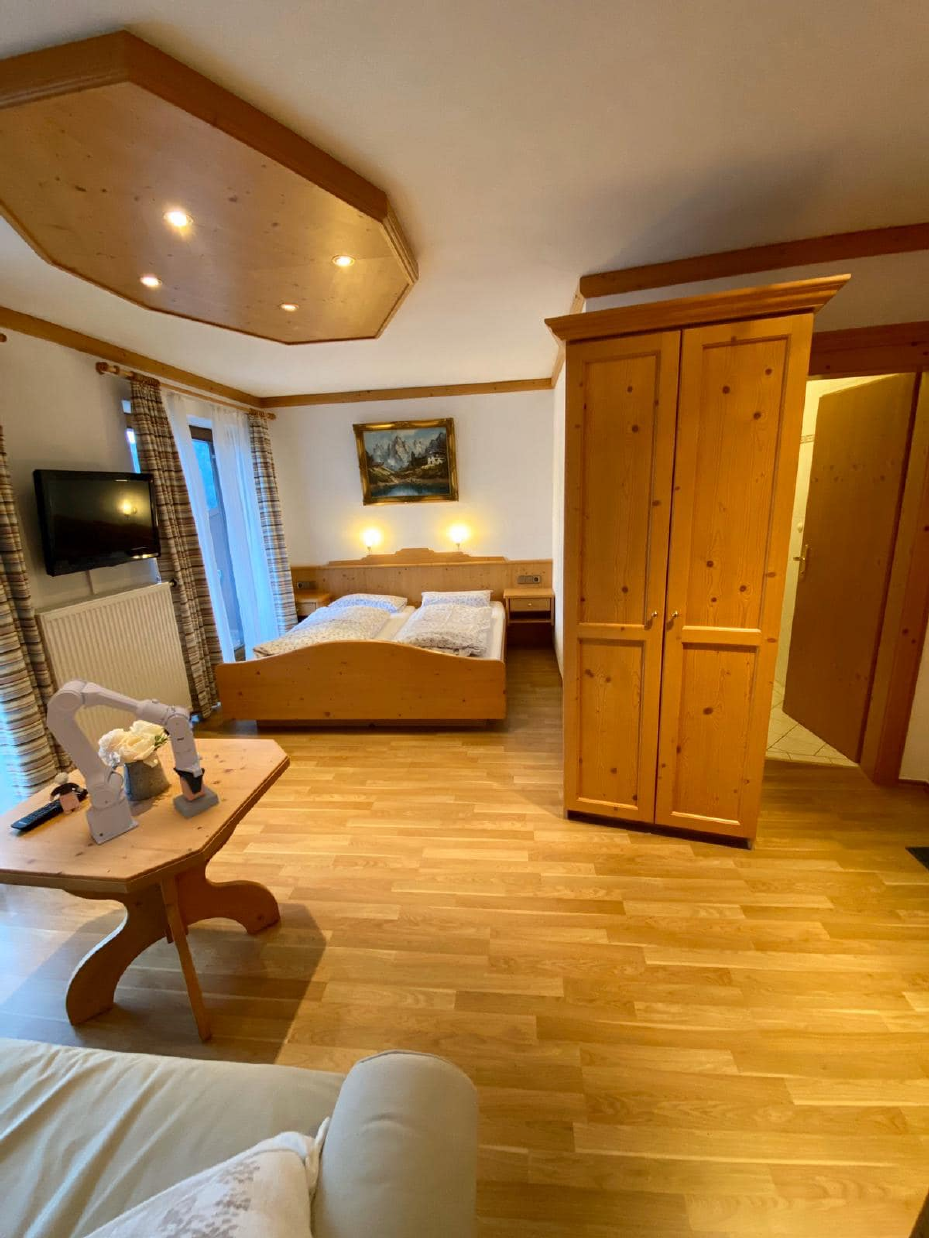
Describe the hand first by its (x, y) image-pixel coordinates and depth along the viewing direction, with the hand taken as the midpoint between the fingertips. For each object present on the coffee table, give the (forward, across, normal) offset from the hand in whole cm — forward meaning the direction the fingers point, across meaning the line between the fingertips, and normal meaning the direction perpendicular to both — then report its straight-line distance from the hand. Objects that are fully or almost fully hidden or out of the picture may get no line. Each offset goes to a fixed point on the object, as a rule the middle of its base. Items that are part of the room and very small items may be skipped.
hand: (193, 789), depth 141 cm
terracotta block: (+2, 0, 0) cm, 2 cm away
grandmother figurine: (+6, +30, +24) cm, 39 cm away
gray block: (+5, 0, 0) cm, 5 cm away
